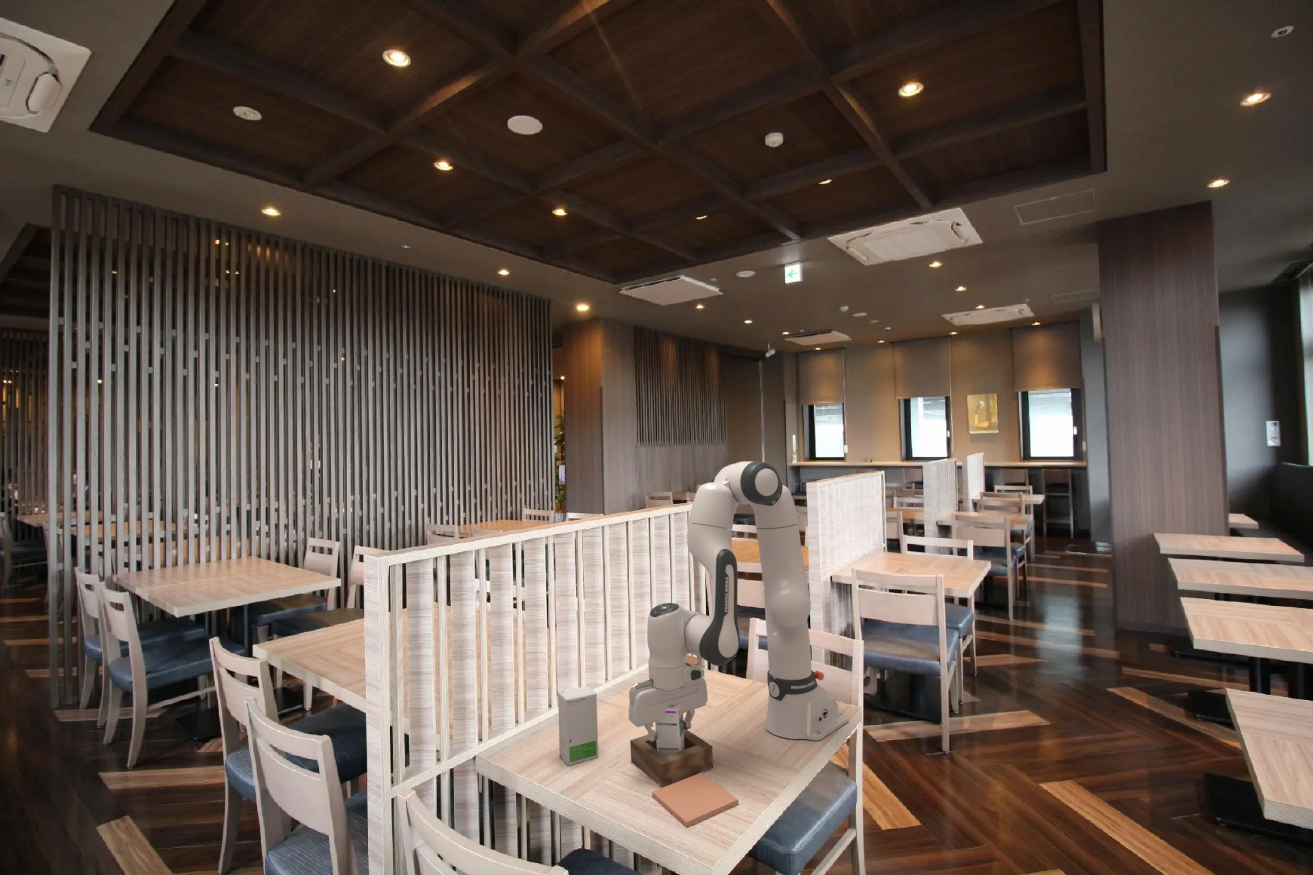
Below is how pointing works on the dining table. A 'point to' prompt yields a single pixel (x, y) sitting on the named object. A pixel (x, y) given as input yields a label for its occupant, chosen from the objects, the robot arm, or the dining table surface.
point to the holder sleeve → (672, 759)
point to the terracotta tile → (694, 799)
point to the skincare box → (578, 725)
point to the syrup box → (670, 731)
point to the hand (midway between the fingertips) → (670, 733)
